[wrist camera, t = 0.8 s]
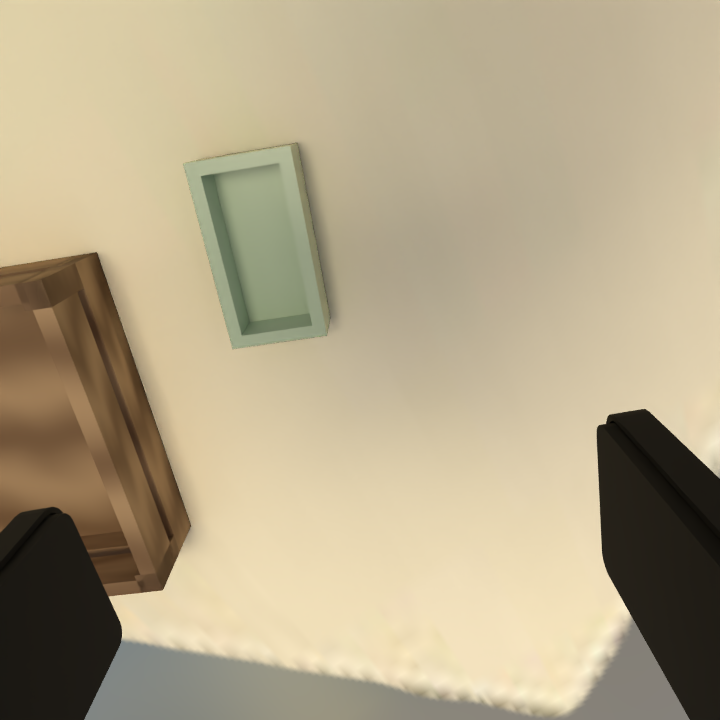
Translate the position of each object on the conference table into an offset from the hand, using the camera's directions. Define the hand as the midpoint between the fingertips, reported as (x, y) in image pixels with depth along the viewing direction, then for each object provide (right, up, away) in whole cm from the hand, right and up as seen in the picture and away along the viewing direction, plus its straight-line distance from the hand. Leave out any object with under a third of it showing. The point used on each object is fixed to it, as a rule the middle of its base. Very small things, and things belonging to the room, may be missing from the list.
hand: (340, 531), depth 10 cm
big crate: (-22, -1, +27) cm, 35 cm away
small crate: (-5, +10, +22) cm, 25 cm away
